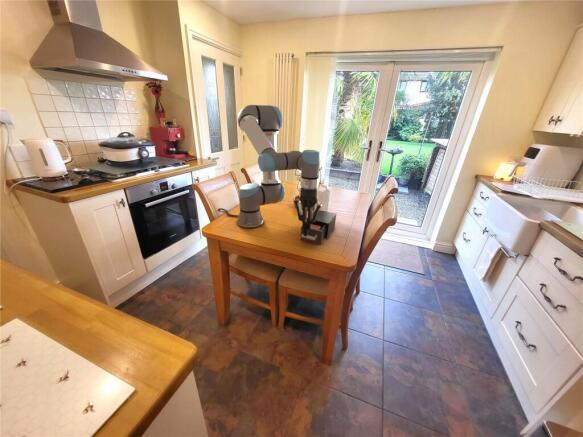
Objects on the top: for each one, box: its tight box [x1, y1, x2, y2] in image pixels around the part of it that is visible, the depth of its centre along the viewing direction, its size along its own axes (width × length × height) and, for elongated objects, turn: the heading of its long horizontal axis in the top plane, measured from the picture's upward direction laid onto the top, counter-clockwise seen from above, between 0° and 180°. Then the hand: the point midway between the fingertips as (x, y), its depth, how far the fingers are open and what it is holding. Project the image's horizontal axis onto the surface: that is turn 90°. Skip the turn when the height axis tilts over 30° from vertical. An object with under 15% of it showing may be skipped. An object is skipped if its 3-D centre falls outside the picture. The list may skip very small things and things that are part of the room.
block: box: [311, 224, 321, 230], centre depth 124 cm, size 6×6×6 cm
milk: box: [314, 183, 331, 212], centre depth 147 cm, size 6×6×22 cm
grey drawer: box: [300, 222, 327, 246], centre depth 123 cm, size 18×11×8 cm, turn 155°
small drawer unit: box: [306, 210, 337, 240], centre depth 133 cm, size 15×13×10 cm
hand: (305, 234), depth 111 cm, fingers closed
